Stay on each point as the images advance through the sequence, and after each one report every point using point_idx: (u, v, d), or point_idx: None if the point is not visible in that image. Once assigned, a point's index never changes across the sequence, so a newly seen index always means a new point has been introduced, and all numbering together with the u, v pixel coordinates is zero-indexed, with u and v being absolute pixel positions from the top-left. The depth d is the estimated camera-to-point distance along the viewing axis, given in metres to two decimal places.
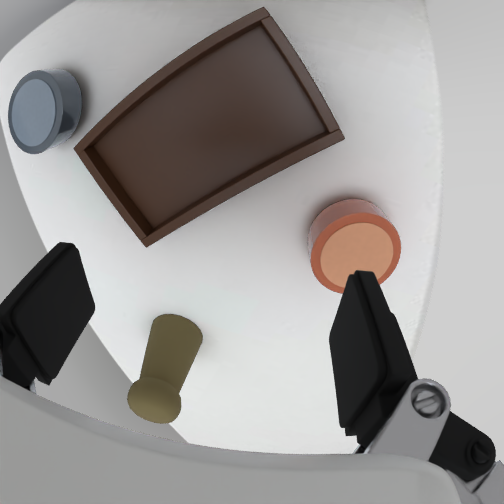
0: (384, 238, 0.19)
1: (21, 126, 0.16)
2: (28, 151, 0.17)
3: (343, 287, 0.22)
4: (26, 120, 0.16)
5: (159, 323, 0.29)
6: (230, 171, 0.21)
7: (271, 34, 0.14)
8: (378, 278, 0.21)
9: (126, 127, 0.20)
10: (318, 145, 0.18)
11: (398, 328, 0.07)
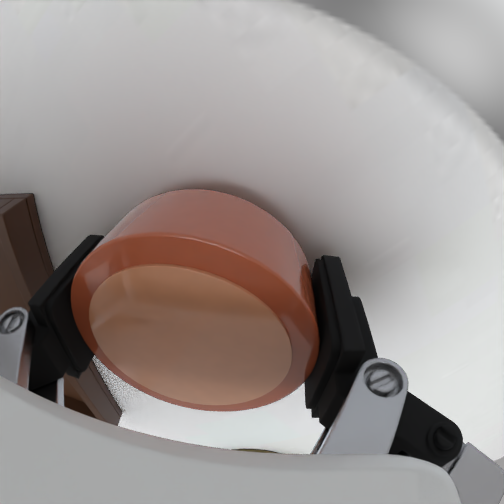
0: (153, 278, 0.06)
1: None
2: None
3: (256, 398, 0.08)
4: None
5: None
6: None
7: None
8: (290, 342, 0.07)
9: None
10: (9, 256, 0.09)
11: (362, 311, 0.08)
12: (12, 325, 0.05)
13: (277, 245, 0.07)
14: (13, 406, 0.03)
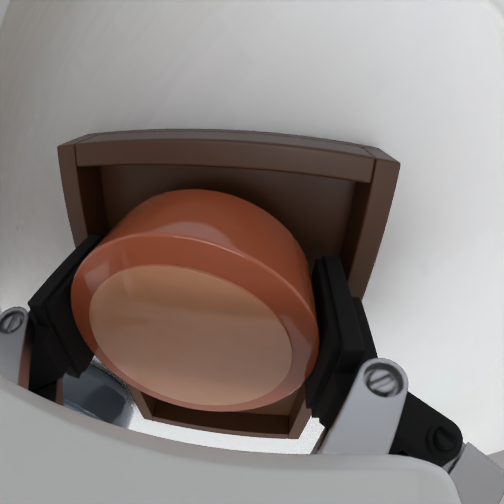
0: (153, 278, 0.06)
1: None
2: None
3: (256, 398, 0.08)
4: None
5: None
6: None
7: (107, 163, 0.08)
8: (291, 343, 0.07)
9: None
10: (375, 220, 0.08)
11: (362, 311, 0.08)
12: (12, 325, 0.05)
13: (277, 245, 0.07)
14: (13, 406, 0.03)
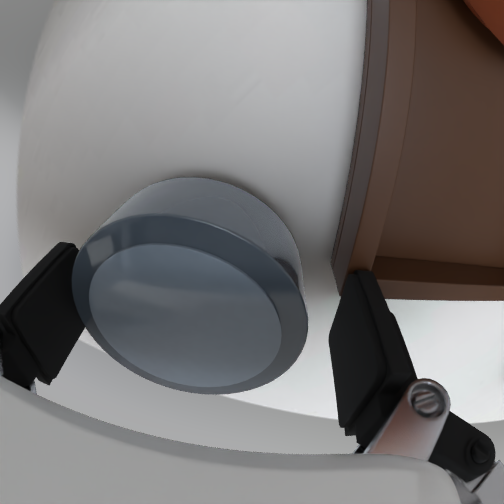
0: None
1: (182, 368, 0.09)
2: (248, 387, 0.09)
3: None
4: (181, 350, 0.08)
5: None
6: None
7: None
8: None
9: (402, 162, 0.08)
10: None
11: (397, 328, 0.07)
12: None
13: None
14: (13, 406, 0.03)
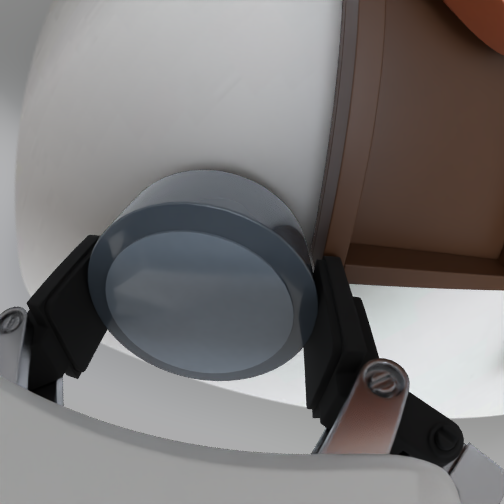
0: None
1: (196, 354, 0.09)
2: (260, 372, 0.10)
3: None
4: (196, 336, 0.09)
5: None
6: None
7: None
8: None
9: (377, 152, 0.09)
10: None
11: (363, 312, 0.08)
12: (11, 325, 0.05)
13: None
14: (13, 406, 0.03)
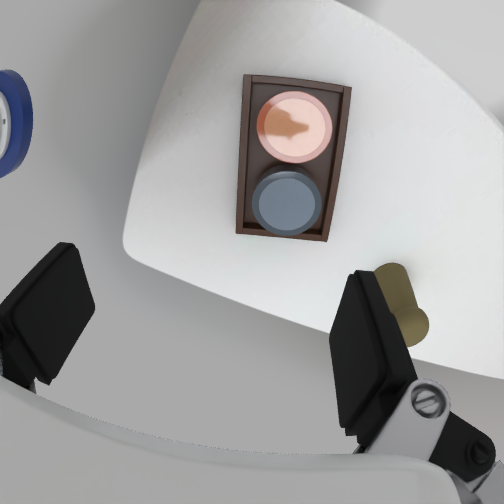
0: (291, 102, 0.23)
1: (284, 220, 0.30)
2: (304, 229, 0.30)
3: (314, 150, 0.26)
4: (285, 213, 0.29)
5: None
6: (325, 159, 0.30)
7: (264, 82, 0.25)
8: (324, 122, 0.24)
9: (252, 194, 0.32)
10: (346, 103, 0.25)
11: (398, 328, 0.07)
12: None
13: None
14: (13, 406, 0.03)
